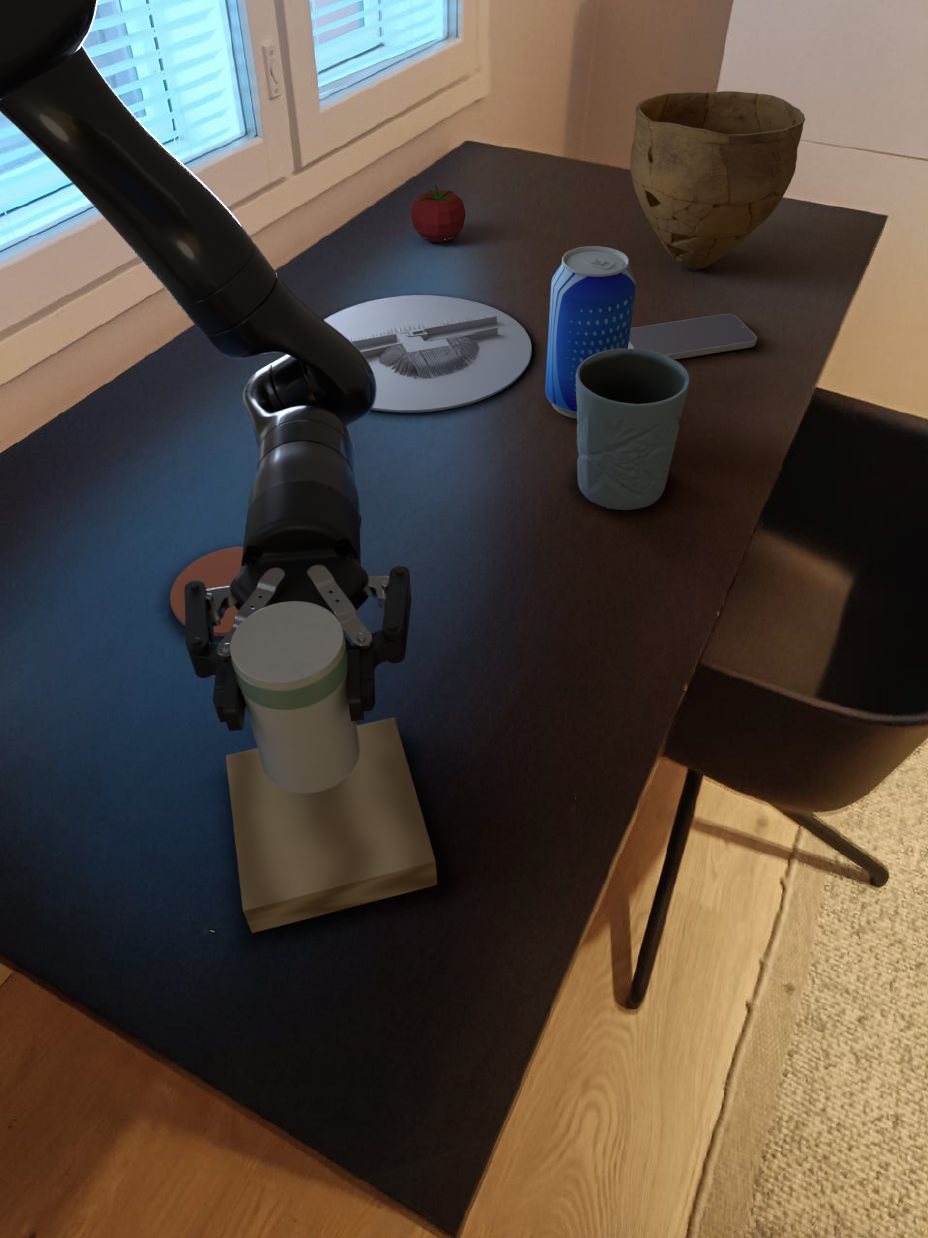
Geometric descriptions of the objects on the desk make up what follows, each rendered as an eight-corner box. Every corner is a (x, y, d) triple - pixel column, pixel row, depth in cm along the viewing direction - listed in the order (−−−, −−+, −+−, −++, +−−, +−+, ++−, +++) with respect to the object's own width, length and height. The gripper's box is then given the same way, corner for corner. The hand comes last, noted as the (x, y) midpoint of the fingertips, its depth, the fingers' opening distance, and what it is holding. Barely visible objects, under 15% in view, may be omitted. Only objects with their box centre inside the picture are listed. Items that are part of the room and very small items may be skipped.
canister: (267, 805, 52) (234, 694, 45) (255, 725, 56) (224, 612, 49) (369, 781, 53) (353, 669, 46) (351, 705, 57) (334, 591, 50)
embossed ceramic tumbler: (668, 520, 84) (689, 409, 76) (561, 509, 86) (570, 399, 77) (671, 458, 91) (690, 350, 83) (572, 449, 93) (581, 342, 84)
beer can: (558, 428, 96) (568, 282, 84) (535, 388, 101) (542, 246, 90) (632, 417, 97) (652, 272, 86) (605, 378, 103) (620, 237, 91)
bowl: (587, 266, 124) (601, 105, 110) (679, 225, 133) (702, 73, 119) (710, 317, 113) (743, 145, 99) (800, 269, 122) (842, 106, 108)
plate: (487, 284, 120) (487, 275, 119) (567, 387, 101) (568, 377, 101) (280, 316, 115) (279, 307, 114) (324, 431, 96) (322, 421, 95)
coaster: (174, 648, 73) (172, 644, 73) (168, 563, 81) (167, 559, 81) (307, 621, 75) (306, 617, 75) (289, 540, 83) (289, 536, 83)
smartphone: (618, 329, 109) (732, 312, 111) (618, 336, 110) (730, 319, 112) (642, 358, 104) (760, 340, 106) (641, 366, 105) (759, 347, 107)
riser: (251, 933, 56) (242, 911, 54) (234, 780, 64) (225, 755, 62) (437, 885, 58) (435, 861, 56) (397, 742, 66) (394, 717, 64)
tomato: (403, 234, 132) (400, 180, 127) (450, 224, 135) (449, 170, 130) (426, 254, 127) (424, 198, 122) (475, 243, 130) (475, 188, 124)
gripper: (182, 484, 57) (141, 682, 45) (407, 469, 58) (424, 660, 46) (207, 571, 62) (176, 769, 51) (413, 557, 63) (429, 747, 52)
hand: (295, 716), depth 48 cm, fingers closed on canister, 6 cm apart
